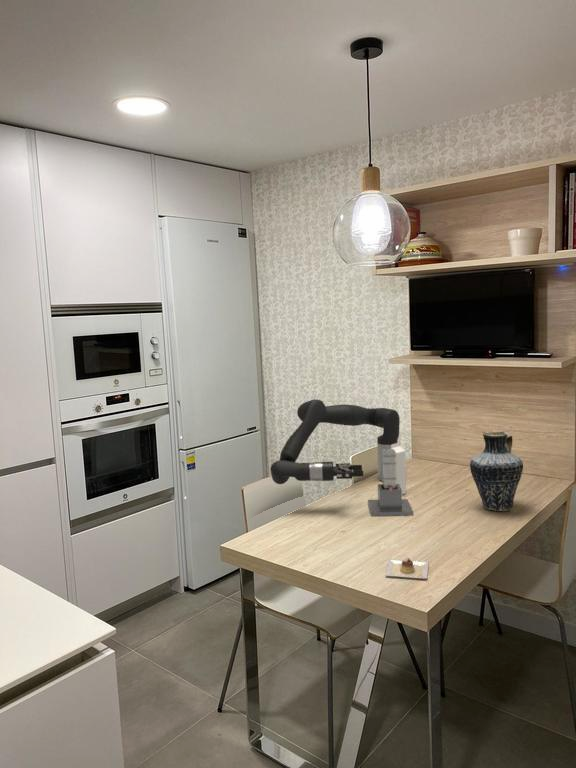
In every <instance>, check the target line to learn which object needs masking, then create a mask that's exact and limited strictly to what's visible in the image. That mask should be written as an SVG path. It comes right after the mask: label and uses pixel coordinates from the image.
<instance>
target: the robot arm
mask: <svg viewBox="0 0 576 768" xmlns="http://www.w3.org/2000/svg"><path fill="white" fill-rule="evenodd" d="M296 413H297V417H298V418H299V420H300V421H301V423H300V425H299V426H298V427H297V428H296V430H294V432H293V433H292V434H291V435H290V436H289V438H288V439H287V440H286V443H285V444H284V446H283V448H282V450H281V452H280V454H279V455H280V456H279V460H277V461H274V462H272V464H271V465H270V473H271V479H272V481H273V482H274V483H275V484H277V485H283V484H285V483H286V482H288V480H289V478H294V479H295V480H296V481H300V482H305V481H306V482H310V481H311V482H330V481H331V482H333V481H334V480H335V478H334V477H336V479H337V480H339V479H340V480H350V479H353V478H354V477H363V476H364V470H363V465H361V464H352V463H336V464H335V466H334V462H333V461H314V462H301V463H299V462H296V461H297V460H298V458H299V456H300V454H301V452H302V450H303V448H304V447H305V446H306V443H307V442H308V440H309V438H310V437H311V436H312V434H313V432H314V431H315V429H316V428H317V427H318V426H319V425H320V423H324V424H333V425H339V426H340V425H341V426H351V427H355V426H356V427H357V426H361V425H368V426H369V425H370V426H373V427H377V428H381V429H382V430H383V432H382V435H379V436H377V439H376V443H377V444H376V445H377V446H376V447H377V480H378V479H379V480H378V481H380V480H381V482H383V462H382V460H383V455H382V453H383V449H391V445H392V444H396V443H398V440H399V436H400V422H401V421H400V419H401V418H400V416H399V412H398V411H397V410H395V409H392V408H385V407H375V408H366V407H364V406H361V405H355V404H344V403H343V404H336V405H335V404H333V405H326V404H325V403H324V401H322V400H320V399H316V398H314V399H311V400H308V401H305V402H303V403H301V404H300V405H299V406H298V408H297V412H296Z"/></svg>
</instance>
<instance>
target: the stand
mask: <svg viewBox="0 0 576 768" xmlns="http://www.w3.org/2000/svg"><path fill="white" fill-rule="evenodd" d="M402 496H403V495H402V490H401V488H400V485H399V484H396V489H392V487H389V489H383V483H380V484H377V499H367V505H368V508H369V513H370V517H402V515H404V516H403V517H406V516H405V515H413V516H414V510H413V507H412V506H411V504H410V501H409V499H407V498H403V497H402Z"/></svg>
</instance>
